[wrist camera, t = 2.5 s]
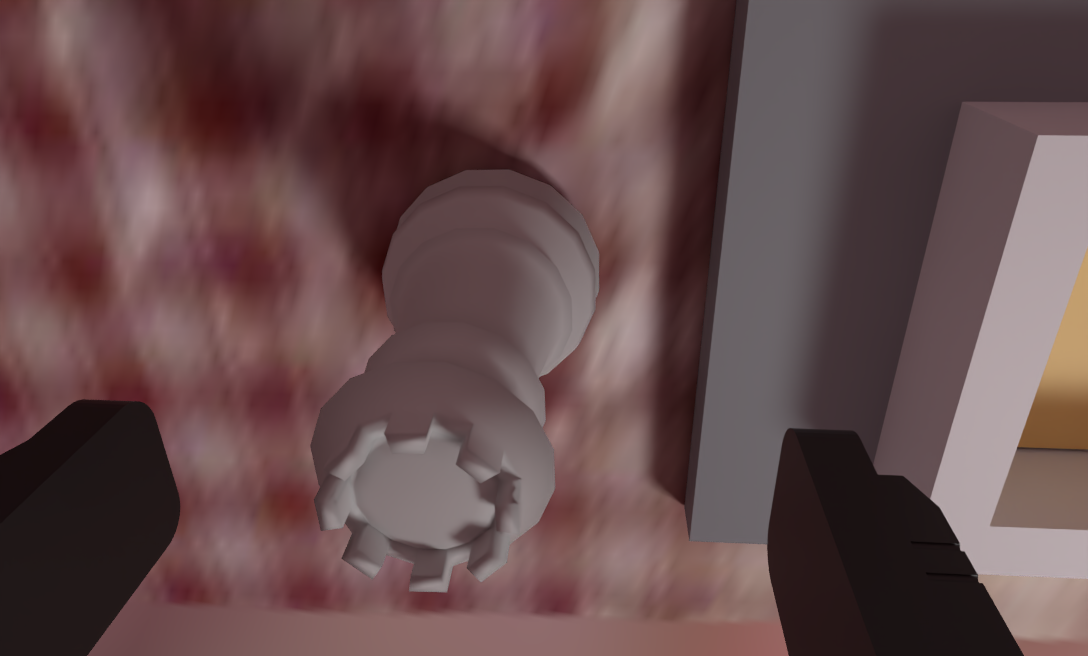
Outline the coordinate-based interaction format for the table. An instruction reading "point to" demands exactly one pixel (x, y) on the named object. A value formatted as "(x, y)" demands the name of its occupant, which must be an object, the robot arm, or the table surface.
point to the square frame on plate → (904, 266)
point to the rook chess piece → (458, 380)
